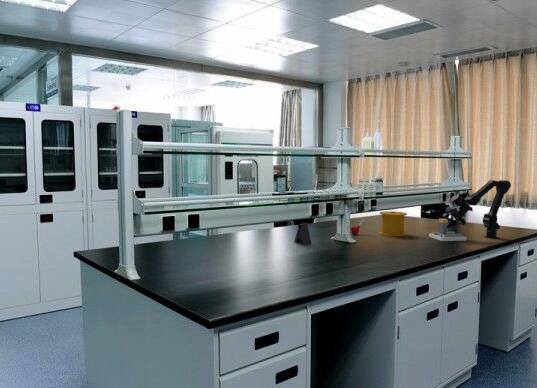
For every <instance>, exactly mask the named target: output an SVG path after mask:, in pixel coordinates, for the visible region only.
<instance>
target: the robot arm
mask: <svg viewBox="0 0 537 388" xmlns="http://www.w3.org/2000/svg"><path fill="white" fill-rule="evenodd" d="M494 187H495V191H496V192H495V196H494V198H493V200H492V204H491V206H490V208H489V211H488V212H487V213H484V214H483V217H482V224H483V226H484V228H486V232H485V233H486V235H484V236H483V237H484V238H489V239H497V238H500V237H499V236H498V230H500V229H501V225H500V224H499V223H498V213H499V210H500V207H501V204H502V202H503V199H504V197H505V194H507V193H508V192H509V191H510V189H511V187H512V183H511V181H509V180H507V179H505V180H504V179H500V180H494V179H490V180H487V182H486V183H485V184H484V185H483V186H482V187H481V188H479V189H478V190H477V191H475V192H474V193H472V194H469V195H468V196H466V197H465V198H464V197H463V195H462V194H461V193H457V194H455V195H453V196H452V197H451V198H450V200H451V201H452V203H453V204H454V205H455V206H453V207H450V206H447V207H446V209H445V212H447V213H443V214H442V217H443V219H447V220H448V223H447V229H449V228H452V227H455V226H458V225H459V223H460V225H461V226H465V225H466V224H467V221H466V219H464V218H465V217H466V214H468V211H469V212H474V211H473V210H474V209H473V206H474V207H475V206H477V205H478V204H479V202H480V201H481V200H482V198H483V197H484V196H485V195H486V194H487V193H488V192H489V191H491V190H492V189H493V188H494ZM457 207H458V208H457Z"/></svg>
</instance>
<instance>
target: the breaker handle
mask: <svg viewBox="0 0 537 388" xmlns="http://www.w3.org/2000/svg"><path fill="white" fill-rule="evenodd" d="M447 223H448V220H447V219H445V218H438V232H439V233H437V234H438V235H440V234H447V232H448V228H447Z"/></svg>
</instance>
